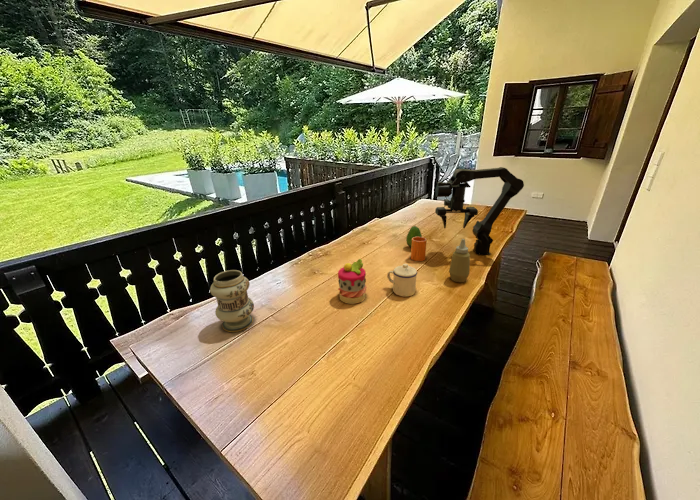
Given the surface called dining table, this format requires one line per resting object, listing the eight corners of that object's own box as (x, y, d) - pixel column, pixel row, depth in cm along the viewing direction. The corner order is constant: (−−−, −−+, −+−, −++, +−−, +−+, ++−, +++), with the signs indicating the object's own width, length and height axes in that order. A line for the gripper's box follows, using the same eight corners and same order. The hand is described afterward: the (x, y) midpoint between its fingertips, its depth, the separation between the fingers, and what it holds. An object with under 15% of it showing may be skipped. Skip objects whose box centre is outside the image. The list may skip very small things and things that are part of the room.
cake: (346, 307, 108) (345, 269, 102) (334, 293, 117) (332, 258, 111) (371, 299, 113) (371, 263, 107) (357, 287, 121) (357, 253, 116)
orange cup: (426, 256, 148) (427, 237, 144) (423, 261, 142) (425, 242, 139) (412, 254, 151) (413, 236, 147) (409, 260, 145) (410, 240, 141)
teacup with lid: (419, 289, 119) (421, 262, 114) (409, 299, 112) (411, 271, 107) (392, 281, 125) (393, 256, 121) (381, 290, 118) (382, 264, 114)
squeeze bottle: (469, 284, 121) (476, 243, 114) (449, 283, 123) (453, 242, 116) (466, 275, 128) (472, 236, 122) (447, 274, 130) (451, 235, 123)
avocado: (414, 251, 154) (416, 229, 150) (403, 247, 160) (404, 226, 155) (424, 247, 159) (425, 225, 155) (412, 243, 165) (413, 222, 160)
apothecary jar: (227, 312, 107) (217, 267, 100) (261, 312, 106) (253, 266, 99) (212, 334, 95) (200, 284, 89) (249, 334, 95) (240, 284, 88)
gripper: (472, 192, 148) (468, 223, 154) (434, 193, 149) (431, 223, 155) (480, 197, 138) (475, 230, 144) (439, 198, 139) (436, 230, 145)
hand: (454, 228), depth 147 cm, fingers open, 9 cm apart
